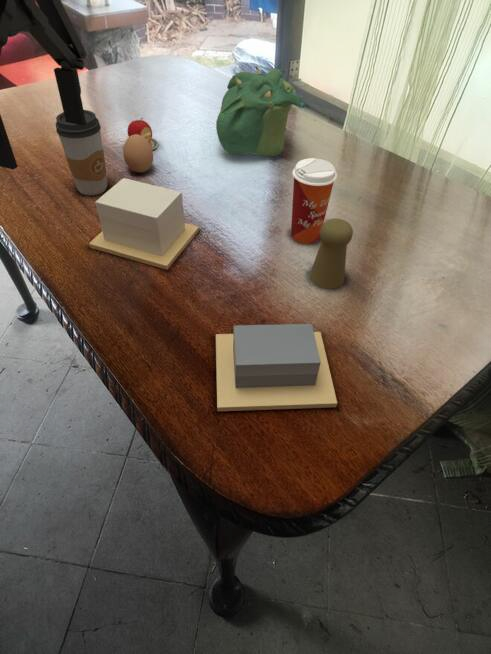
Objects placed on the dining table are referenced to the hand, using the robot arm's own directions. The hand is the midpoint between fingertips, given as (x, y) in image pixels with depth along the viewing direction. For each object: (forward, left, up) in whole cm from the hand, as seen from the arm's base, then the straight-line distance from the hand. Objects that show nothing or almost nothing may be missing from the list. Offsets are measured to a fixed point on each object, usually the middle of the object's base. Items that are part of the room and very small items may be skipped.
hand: (43, 143), depth 57 cm
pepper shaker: (+40, +10, -25) cm, 48 cm away
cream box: (+6, +16, -25) cm, 30 cm away
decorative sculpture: (+23, +56, -25) cm, 65 cm away
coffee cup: (-10, +32, -25) cm, 42 cm away
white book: (+6, +15, -19) cm, 25 cm away
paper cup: (+36, +22, -25) cm, 49 cm away
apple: (-5, +53, -25) cm, 59 cm away
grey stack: (+32, -12, -25) cm, 42 cm away
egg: (-2, +41, -25) cm, 48 cm away
